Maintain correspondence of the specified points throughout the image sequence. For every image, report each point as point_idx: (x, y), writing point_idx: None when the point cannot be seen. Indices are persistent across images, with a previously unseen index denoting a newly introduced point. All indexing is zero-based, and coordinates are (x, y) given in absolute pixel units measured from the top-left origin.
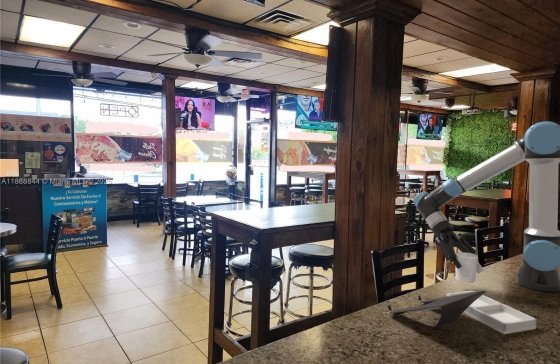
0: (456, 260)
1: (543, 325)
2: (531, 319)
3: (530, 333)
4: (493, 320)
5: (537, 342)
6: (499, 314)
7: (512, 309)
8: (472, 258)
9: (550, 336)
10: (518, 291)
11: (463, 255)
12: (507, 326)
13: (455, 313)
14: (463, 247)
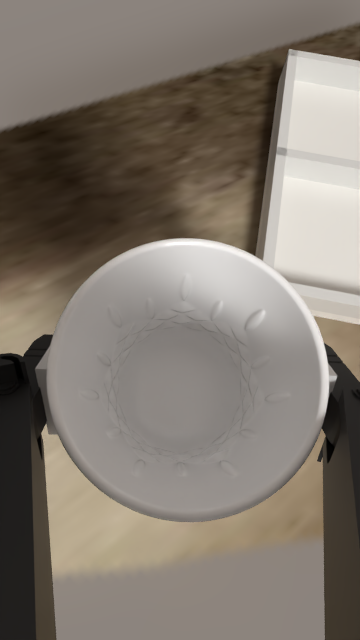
0: (342, 382)
1: (233, 83)
2: (308, 54)
3: None
4: None
5: (352, 54)
6: (319, 150)
7: (290, 110)
8: (233, 252)
9: (286, 53)
10: None
11: (109, 463)
12: None
13: None
14: (34, 526)
